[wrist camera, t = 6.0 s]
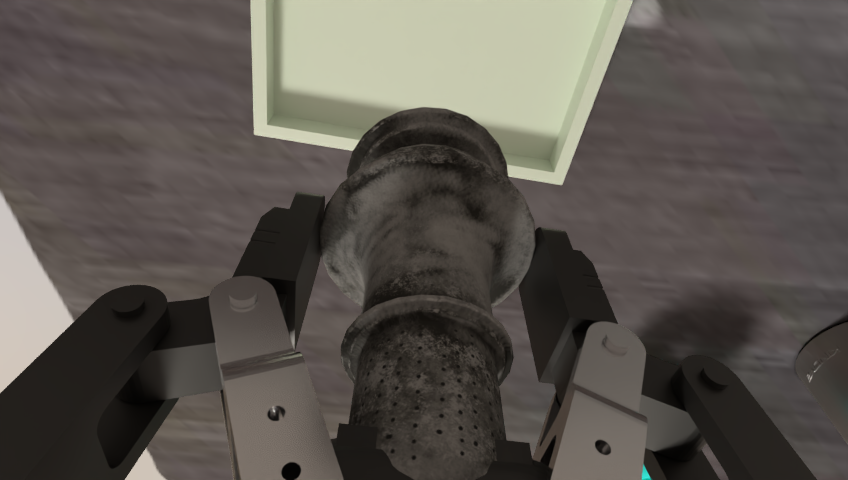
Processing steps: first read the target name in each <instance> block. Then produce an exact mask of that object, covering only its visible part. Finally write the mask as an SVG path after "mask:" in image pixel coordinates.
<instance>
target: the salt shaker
mask: <svg viewBox="0 0 848 480" xmlns="http://www.w3.org/2000/svg"><path fill="white" fill-rule="evenodd" d="M535 247H536V238H535V224H534V219H533V217H532V215H531V212H530V210H529V207H528V205H527V203H526V200H525V198H524V196H523V195H522V194H521V193H520V192H519V191H518V189H517V188H516V187H515V186H514V185H513V184H512V182H511V181H510V180H509V179H508V171H507V163H506V160H505V158H504V155H503V153H502V151H501V148H500V146H499V144H498V143H497V141H496V140H495V139H494V138H493V137H492V135H491V134H490V133H489V132H488V131H487V129H486V128H484V127H483V126H481V125H480V124H479V123H477V122H476V121H474V120H473V119H471V118H470V117H468V116H466V115H463V114H460V113H457V112H454V111H451V110H448V109H444V108H431V107H420V108H414V109H409V110H403V111H399V112H397V113H395V114H393V115H391V116H388V117H386V118H384V119H382V120H380V121H379V122H378V123H376V124H375V125H374V126H373V127H372V128H371V129H369V130H368V131H367V132H366V133H365V134H364V135H363V136H362V138H361V139H360V141H359V142H358V144H357V145H356V147H355V149H354V150H353V152H352V156H351V159H350V163H349V166H348V169H347V179H346V180H345V181H344V182H343V183H342V184H340V186H339V187H338V189H337V190H336V192H335V193H334V195H333V196H332V198H331V199H330V201H329V202H328V204H327V205H326V208H325V211H324V215H323V219H322V222H321V229H320V254H321V256H322V259H323V261H324V264H325V266H326V269H327V272H328V274H329V276H330V277H331V278H332V280H333V281H334V282H335V283H336V285H337V286H338V287H339V289H340V290H341V291H342V292H343V293H344V294H345V295H346V296H347V297H349V298H350V299H351V300H353V301H354V302H355V303H356V304H358V305H359V306H360V307H362V312H361V315H360V316H358V318H357V319H356V320H355V321H354V322H353V323H352V324H351V326H350V327H349V328H348V329H347V331H346V334H345V336H344V339H343V342H342V344H341V362H342V365H343V367H344V369H345V371H346V374H347V376H348V377H349V378H350V379H351V381H352V382H353V383H354V391H353V398H352V405H351V411H350V418H349V424H350V425H359V426H369V427H378V429H377V440H376V449H382V450H383V451H384V452H385V453H386V454H387V456H388V457H389V459H390V461H391V463H392V465H393V466H394V467H395V468H396V469H397V470H398V471H400V472H402V473H403V474H405V475H407V476H409V477H410V478H412V479H414V480H475V479H477V478H479V477H481V476H483V475H485V474H486V473H487V471H488V468H489V466H490V464H491V463H492V462H493V460H494V461H497V455H496V446H495V440H505V441H506V434H505V426H504V419H503V412H502V405H501V397H500V390H499V386H500V385H501V384H502V382H503V381H504V379H505V378H506V377H507V375H508V374H509V372H510V369H511V365H512V361H513V358H514V357H513V350H512V343H511V339H510V337H509V335H508V333H507V332H506V330H505V328H504V326H503V325H502V324H501V323H500V322H499V321H498V320H497V319H496V318H494V317H493V315H492V308H493V307H494V306H496V305H498V304H500V303H501V302H502V301H503V300H504V299H505V298H507V297H508V296H509V295H510V294H511V293H512V292H513V291H514V290H515V289H516V288H517V287H518V286H519V284H520V283H521V281H522V280H523V278H524V276H525V275H526V273H527V271H528V269H529V267H530V264H531V261H532V258H533V254H534V251H535Z"/></svg>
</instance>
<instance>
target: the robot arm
mask: <svg viewBox="0 0 848 480" xmlns="http://www.w3.org/2000/svg"><path fill="white" fill-rule="evenodd" d="M324 208H325V196H323V195H316V194H309V193H302V192H297V193H296V195H295V197H294V199H293V202H292V204H291V207H290V209H285V208H278V207H274V208H273V209H271V210H270V211H269V212H267V213H266V214H265V215H263V216H262V217H261V219H260V221H259V223H258V225H257V227H256V229H255V232H254V233H253V235H252V237H251V241H250V242H249V244H248V246H247V248H246V250H245V252H244V254H243V256H242V258H241V260H240V262H239V264H238V267H237V269H236V271H235V273H234V275H233V277H232V278H230V279H227V280H225V281H222V282H221V283H219V284H218V285H217V286H216V287H214V289H213V290H212V291H211V293H210V295H209V296H207V297H204V298H200V299H194V300H185V301H175V302H167V299H166V296H165V295H164V294H163V293H162V292H161V291H160V290H158V289H156V288H154V287H151V286H146V285H130V286H124V287H120V288H117V289H114V290H112V291H109V292H107V293H106V294H104V295H102V296H101V297H100V298H99V299H97V300H96V301H95V302H94V303H93V304H92V305H91V306H90V307H89V308H88V309H87V310H86V311H85V312H84V313H83V314H82V315H81V316H80V317H79V318H78V319H77V320H76V321H75V322H73V323H72V324H71V325H70V327H68V328H67V329H66V330H65V332H63V333H62V334H61V335H60V336H59V337H58V338H57V339H56V340H55V341H54V342H53V343H52V344H51V345H50V346H49V347H48V348H47V349H46V350H45V351H44V352H43V353H41V354H40V356H39V357H37V358H36V359H35V360H34V361H33V362H32V363H31V364H30V365H29V366H28V367H27V368H26V369H25V370H24V371H23V372H22V373H21V374H20V375H19V376H18V377H17V378H16V379H15V380H14V381H13V382H12V383H11V384H9V385H8V386H7V388H5V389H4V390H3V391H2V392H1V393H0V480H125V478H126V477H127V475H128V474H129V472H130V471H131V469H132V468H133V466H134V465H135V463H136V462H137V460H138V458H139V457H140V456H141V454H142V453H143V451H144V450H145V448H146V447H147V445H148V444H149V442H150V441H151V440H152V438H153V437H154V435H155V434H156V432H157V431H158V429H159V428H160V426H161V425H162V423H163V422H164V420H165V419H166V417H167V416H168V414H169V413H170V411H171V410H172V408H173V407H174V405H175V404H176V402H177V401H178V399H179V397H184V396H190V395H196V394H202V393H208V392H214V391H220V396H221V403H222V409H223V415H224V421H225V427H226V433H227V439H228V445H229V451H230V458H231V465H232V472H233V479H234V480H414V479H412V478H410V477H409V476H407V475H405V474H403V473H402V472H400V471H398V470H397V469H396V468H395V467H394V466H393V465H392V463H391V461H390V459H389V457H388V456H387V454H386V453H385V452H384V451H383V450H382V449H376V440H377V429H378V427H369V426H359V425H350V424H340V423H339V428H338V434H337V438H335V439H330V436H329V433H328V430H327V427H326V424H325V421H324V418H323V415H322V412H321V409H320V406H319V403H318V400H317V397H316V394H315V391H314V388H313V385H312V382H311V379H310V375H309V372H308V369H307V366H306V363H305V360H304V358H303V356H302V354H301V353H300V352H296V353H295V349H296V345H297V342H298V338H299V334H300V331H301V327H302V323H303V320H304V316H305V313H306V309H307V305H308V302H309V298H310V295H311V291H312V287H313V284H314V280H315V276H316V273H317V269H318V266H319V262H320V257H321V254H320V229H321V222H322V219H323V215H324ZM535 238H536V247H535V251H534V254H533V258H532V261H531V264H530V267H529V269H528V271H527V273H526V275H525V276H524V278H523V280H522V281H521V283H520V284H519V292H520V297H521V301H522V306H523V311H524V315H525V320H526V324H527V329H528V334H529V338H530V343H531V348H532V352H533V357H534V361H535V366H536V371H537V375H538V380H539V382H543V383H551V384H554V385H555V389H556V392H555V394H554V396H553V398H552V400H551V403H550V406H549V409H548V412H547V415H546V418H545V421H544V425H543V428H542V431H541V434H540V437H539V440H538V443H537V446H536V450H535V453H534V456H533V458H532V456H531V451H530V445H529V443H524V442H515V441H505V440H495V446H496V455H497V461H494V460H493V462H492V463H491V464H490V466H489V468H488V471H487V473H486V474H485V475H483V476H481V477H479V478H477V479H475V480H642V472H643V464H644V466H645V468H646V470H647V472H648V474H649V476H650V478H651V480H720V479H719V478H718V476H717V474H716V473H715V471H714V469H713V468H712V466H711V465H710V463H709V461H708V460H707V458H706V456H705V455H704V453H703V452H702V450H701V449H702V448H703V447H704V446H705V445H706V444H708V445H709V447H710V448H711V450H712V452H713V453H714V455H715V456H716V458H717V459H718V461H719V463H720V464H721V466H722V467H723V469H724V471H725V472H726V474H727V476H728V479H729V480H817V479H816V478H815V477H814V475H813V474H812V473H811V471H810V470H809V469H808V467H807V466H806V465H805V464H804V462H803V461H802V460H801V458H800V457H799V456H798V454H797V453H796V452H795V451H794V449H793V448H792V447H791V445H790V444H789V443H788V441H787V440H786V439H785V438H784V436H783V435H782V434H781V432H780V431H779V430H778V428H777V427H776V426H775V425H774V423H773V422H772V421H771V419H770V418H769V417H768V415H767V414H766V413H765V412H764V410H763V409H762V408H761V406H760V405H759V404H758V402H757V401H756V400H755V399H754V397H753V396H752V395H751V393H750V392H749V391H748V389H747V388H746V387H745V386H744V384H743V383H742V382H741V380H740V379H739V378H738V377H737V376H736V374H734V373H733V372H732V371H731V370H730V369H729V368H728V367H726V366H725V365H723V364H722V363H720V362H718V361H716V360H714V359H712V358H709V357H706V356H701V355H692V356H688V357H687V358H685V359H684V361H683V362H682V363H681V365H680V366H677V365H674V364H671V363H669V362H666V361H663V360H660V359H658V358H655V357H653V356H650V355H648V354H646V350H645V347H644V345H643V343H642V342H641V341H640V339H639V338H638V337H637V336H636V335H635V334H634V333H632V332H631V331H630V330H628V329H626V328H625V327H623V326H621V325H618V323H617V320H616V318H615V316H614V313H613V311H612V308H611V306H610V304H609V301H608V299H607V296H606V294H605V292H604V290H602V288H603V287H602V284H601V282H600V280H599V279H598V275H597V273H596V270H595V268H594V265H593V263H592V262H591V261H590V260H589V259H588V258H587V257H586V256H585V255H584V254H583V253H582V252H581V251H578V250H573V249H572V246H571V243H570V241H569V238H568V235H567V233H566V232H565V231H562V230H555V229H548V228H541V227H539V228H537V229H536V231H535ZM795 370H796V373H797V375H798V377H799V378H800V379H801V381H802V382H803V383H804V385H805V386H806V388H807V389H808V390H809V392H810V393H811V394H812V396H813V397H814V398H815V400H816V401H817V403H818V404H819V405H820V407H821V408H822V409H823V411H824V413H825V414H826V415H827V417H828V418H829V419H830V421H831V422H832V424H833V425H834V426H835V428H836V429H837V430H838V432H839V433H840V434H841V436H842V437H843V439H844V440H845V441H846V443H847V444H848V322H846V323H843V324H840V325H838V326H835V327H833V328H831V329H829V330H827V331H825V332H823V333H821V334H820V335H819V336H817V337H816V338H814V339H813V340H811V341H810V342H809V343H808V344H807V345H806V346H805V347H804V348H803V350H802V351H801V352H800V354H799V355H798V357H797V360H796V363H795Z"/></svg>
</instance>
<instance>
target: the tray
mask: <svg viewBox="0 0 848 480" xmlns="http://www.w3.org/2000/svg"><path fill="white" fill-rule="evenodd" d="M632 2H633V0H251V36H252V74H253V113H254V135H259V136H265V137H272V138H278V139H284V140H290V141H296V142H302V143H308V144H314V145H320V146H326V147H332V148H339V149H345V150H351V151H353V150H354V149H355V147H356V145H357V144H358V142H359V141H360V139H361V138H362V136H363V135H364V134H365V133H366V132H367V131H368V130H369V129H371V128H372V127H373V126H374V125H375V124H376V123H378V122H379V121H380V120H382V119H384V118H386V117H388V116H391V115H393V114H395V113H397V112H399V111H403V110H409V109H414V108H420V107H431V108H444V109H448V110H451V111H454V112H457V113H460V114H463V115H466V116H468V117H470V118H471V119H473V120H474V121H476V122H477V123H479V124H480V125H481V126H483V127H484V128H486V129H487V131H488V132H489V133H490V134H491V135H492V137H493V138H494V139H495V140H496V141H497V143H498V144H499V146H500V148H501V151H502V153H503V155H504V158H505V160H506V163H507V171H508V176H509V177H515V178H522V179H528V180H534V181H540V182H546V183H552V184H558V185H562V184H563V181H564V179H565V176H566V173H567V171H568V168H569V166H570V163H571V160H572V158H573V155H574V153H575V150H576V147H577V145H578V142H579V140H580V137H581V134H582V132H583V129H584V127H585V124H586V121H587V119H588V116H589V114H590V111H591V108H592V106H593V103H594V101H595V98H596V95H597V93H598V90H599V88H600V85H601V82H602V80H603V77H604V75H605V72H606V69H607V67H608V64H609V62H610V59H611V56H612V54H613V51H614V49H615V46H616V43H617V41H618V38H619V36H620V33H621V30H622V28H623V25H624V23H625V20H626V17H627V15H628V12H629V10H630V7H631V4H632Z"/></svg>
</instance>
